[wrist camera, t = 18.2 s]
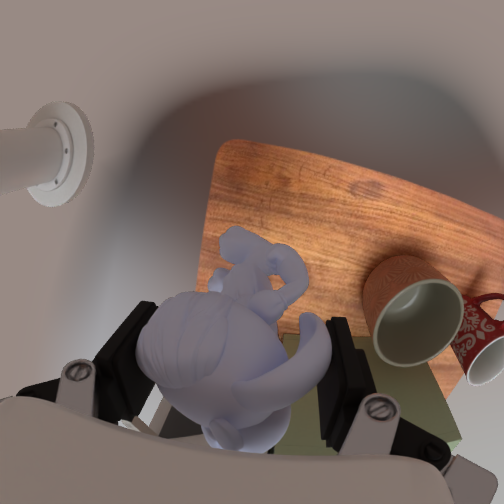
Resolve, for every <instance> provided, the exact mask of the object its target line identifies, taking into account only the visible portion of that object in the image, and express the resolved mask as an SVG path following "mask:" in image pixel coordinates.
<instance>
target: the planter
mask: <svg viewBox="0 0 504 504" xmlns="http://www.w3.org/2000/svg"><path fill="white" fill-rule="evenodd" d="M362 303H363V310H364V314H365V318H366V322H367V325H368V329H369V332H370V335H371V339H372V342H373V345H374V348H375V351H376V353H377V354H378V356H379V357H380V358H381V359H382V360H383V361H385V362H386V363H388V364H390V365H393V366H397V367H411V366H416V365H420V364H423V363H425V362H427V361H429V360H431V359H433V358H435V357H436V356H437V355H439V354H440V353H441V352H442V351H444V350H445V349H446V348H447V347H448V346H449V344H450V343H451V342H452V341H453V339H454V338H455V336H456V335H457V333H458V331H459V329H460V326H461V324H462V321H463V316H464V302H463V298H462V295H461V293H460V291H459V290H458V289H457V287H456V286H455V285H453V284H452V283H451V282H450V281H449V280H448V279H447V278H446V277H444V276H443V275H442V274H441V273H440V272H439V271H437V270H436V269H435V268H434V267H432V266H431V265H430V264H428V263H427V262H425V261H423V260H422V259H420V258H417V257H414V256H410V255H399V256H394V257H391V258H389V259H386V260H385V261H383V262H382V263H380V264H379V265H378V266H377V267H376V268H375V269H374V270H373V271H372V272H371V274H370V275H369V277H368V279H367V280H366V283H365V286H364V289H363V296H362Z"/></svg>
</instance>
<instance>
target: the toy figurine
mask: <svg viewBox="0 0 504 504" xmlns="http://www.w3.org/2000/svg"><path fill="white" fill-rule="evenodd" d="M219 245H220V255H221V257H222V258H223V259H225V260H226V261H228V262H230V263H233V264H236V265H234V266H233V267H232V269H231V270H228V269H225V268H217V269H216V270H215V271H214V273H213V276H212V277H211V278H210V279H209V281H208V289H209V292H208V293H205V292H194V291H193V292H183V293H180V294H178V295H176V296H175V297H171V298H168V299H166V300H165V301H164V302H163V303H162V304H161V305H160V306H159V307H158V309H157V310H156V311H155V313H154V314H153V315H152V317H151V318H150V320H149V321H148V324H146V325H145V326H144V327H143V328H142V330H141V333H140V335H139V338H138V341H137V346H136V350H135V356H136V361H137V364H138V366H139V368H140V369H141V370H142V372H143V373H144V374H145V375H146V376H147V377H148V378H150V379H151V380H152V381H154V382H156V384H157V386H158V388H159V390H160V392H161V393H162V395H163V396H164V397H165V399H166V400H167V401H168V402H169V403H170V404H171V405H172V406H173V407H174V408H176V409H177V410H178V411H179V412H181V413H182V414H183V415H184V416H186V417H187V418H189V419H190V420H192V421H194V422H196V423H198V424H200V425H201V428H202V431H203V434H204V437H205V439H206V441H207V443H208V444H209V445H210V446H211V447H212V448H218V449H225V450H233V451H241V452H250V453H264V452H266V451H268V450H269V449H270V448H272V447H273V446H274V445H275V444H277V443H278V442H279V441H280V439H281V438H282V437H283V436H284V434H285V432H286V431H287V428H288V426H289V422H290V418H291V404H293V403H294V402H296V401H297V400H299V399H300V398H302V397H303V396H304V395H306V394H307V393H308V392H309V391H311V390H312V389H313V388H314V387H315V386H316V385H317V384H318V383H319V382H320V381H321V379H322V378H323V377H324V375H325V374H326V372H327V370H328V368H329V365H330V362H331V357H332V344H331V338H330V335H329V332H328V330H327V328H326V326H325V324H324V322H323V321H322V320H321V319H320V318H319V317H318V316H317V315H316V314H314V313H310V312H305V313H302V314H301V315H300V317H299V326H300V342H299V346H298V349H297V352H296V354H295V355H294V356H293V357H292V358H290V359H288V356H287V353H286V351H285V348H284V347H283V345H282V343H281V341H280V340H279V338H278V337H277V335H278V328H277V322H276V321H277V320H278V319H280V318H281V316H282V315H283V312H284V310H286V309H287V308H288V306H289V305H291V304H292V303H294V302H295V301H296V300H297V299H298V298H299V297H300V296H301V295H302V294H303V293H304V292H305V291H306V289H307V288H308V285H309V277H308V272H307V269H306V266H305V264H304V262H303V260H302V258H301V257H300V255H299V254H298V253H297V252H296V251H295V250H294V249H293V248H291V247H290V246H288V245H285V244H280V243H276V244H272V243H270V242H268V241H267V240H265V239H263V238H262V237H260V236H259V235H257V234H255V233H252V232H250V231H248V230H245V229H244V228H242V227H240V226H232V227H230V228H229V229H228V230H227V231H226V233H224V234H222V235H221V236H220V238H219ZM273 274H274V275H280V276H281V278H282V280H283V281H284V282H285V283H286V285H284V286H283V287H281V288H280V289H279V290H273V288H272V285H271V282H270V280H269V278H268V277H267V276H270V275H273Z"/></svg>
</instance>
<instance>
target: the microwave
mask: <svg viewBox="0 0 504 504" xmlns="http://www.w3.org/2000/svg"><path fill="white" fill-rule="evenodd" d="M352 339H353V342H354V346H355V349H363V350H364V352H365V354H366V358H367V361H368V364H369V367H370V370H371V373H372V377H373V380H374V383H375V387H376V390H377V393H383V394H387V395H389V396H392V397H393V398H394V399H396V400H397V402H398V403H399V405H400V407H401V414H400V417H402V418H403V419H405V420H407V421H409V422H411V423H412V424H414V425H416V426H418V427H420V428H422V429H423V430H425V431H427V432H429V433H431V434H433V435H435V436H437V437H439V438H441V439H442V440H444V441H445V442H446V443H447V444H448V445H449V447H450V450H451V452H452V451H453V449H454V448H455V447H456V446H457V445H458V444H459V442H460V441H461V440H462V438H461V435H460V433H459V430H458V428H457V425H456V423H455V421H454V418H453V416H452V414H451V411H450V409H449V407H448V404H447V402H446V400H445V398H444V396H443V394H442V391H441V389H440V387H439V385H438V383H437V381H436V379H435V377H434V375H433V373H432V371H431V369H430V367H429V365H428V363H427V362H425V363H423V364H420V365H416V366H411V367H397V366H393V365H390V364H388V363H386V362H385V361H383V360H382V359H381V358H380V357H379V356H378V354H377V353H376V351H375V348H374V345H373V342H372V339H371V337H352ZM299 342H300V335H298V334H283V343H282V345H283V347H284V348H285V351H286V353H287V356H288V359H290V358H292V357H293V356H294V355H295V354H296V352H297V349H298V346H299ZM267 454H276V455H307V456H332V455H337V454H338V452H336V451H335V450H333V449H332V447H330V448H326V440H321V434H320V419H319V406H318V394H317V385H316V386H315V387H314V388H313V389H312V390H311V391H309V392H308V393H307V394H306V395H304V396H303V397H302V398H300V399H299V400H297V401H296V402H294V403H293V404H291V418H290V422H289V426H288V428H287V431H286V432H285V434H284V436H283V437H282V438H281V439H280V441H279V442H278V443H277V444H275V445H274V446H273V447H272V448H270V449H269V450H268V453H267Z"/></svg>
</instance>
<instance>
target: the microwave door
mask: <svg viewBox="0 0 504 504" xmlns="http://www.w3.org/2000/svg"><path fill="white" fill-rule="evenodd" d="M277 337H278V338H279V336H278V335H277ZM155 383H156V382H155ZM154 385H155V384H154ZM153 387H154V386H153ZM152 389H153V388H152ZM151 391H152V390H151ZM150 393H151V392H150ZM149 395H150V394H149ZM122 422H123V424H124V425H125V426H126V427H128V428H129V429H131V430H135V431H138V432H142V433H145V434H149V435H153V436H157V437H161V438H165V439H170V440H174V441H179V442H184V443H189V444H194V445H199V446H205V447H211V446H210V445H209V444H208V443H207V441H206V439H205V437H204V434H203V431H202V428H201V425H200V424H198V423H196V422H194V421H192V420H190V419H189V418H187V417H186V416H184V415H183V414H182V413H181V412H179V411H178V410H177V409H176V408H174V407H173V406H172V405H171V404H170V403H169V402H168V401H167V400H166V399H165V397H164V396H163V399H162V400H161V402H160V404H159V407H158V409H157V411H156V413H155V415H154V417H153V419H152V421H151V423H150V425H149V427H148V426H147V425H146V424H145V423H144V422H143V421H141V419H140V418H138V416H135V417H134V419H133V421H132V422H128V421H125V420H122ZM211 448H212V447H211ZM267 453H268V451H266V452H264V453H262V454H267Z"/></svg>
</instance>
